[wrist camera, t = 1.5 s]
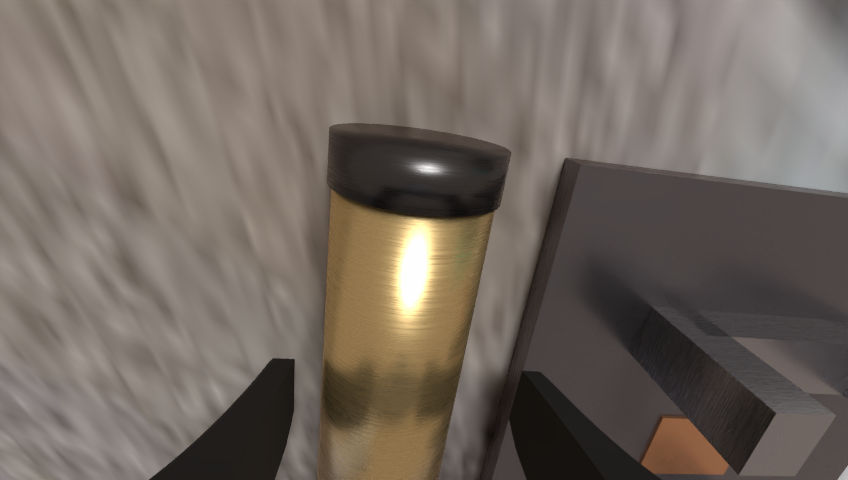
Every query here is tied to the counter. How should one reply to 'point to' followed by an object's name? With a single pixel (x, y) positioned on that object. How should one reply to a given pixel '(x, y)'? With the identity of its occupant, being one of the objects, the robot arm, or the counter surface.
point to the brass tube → (400, 293)
